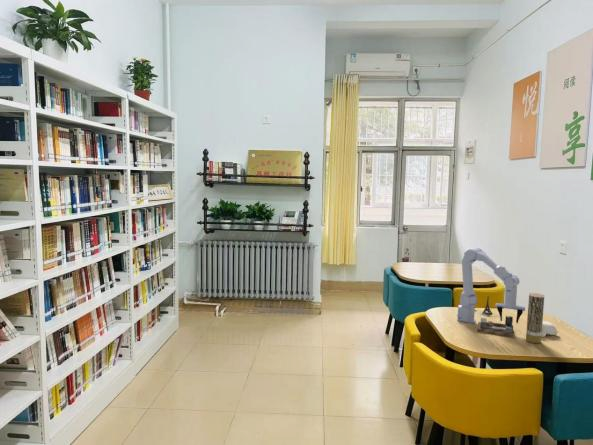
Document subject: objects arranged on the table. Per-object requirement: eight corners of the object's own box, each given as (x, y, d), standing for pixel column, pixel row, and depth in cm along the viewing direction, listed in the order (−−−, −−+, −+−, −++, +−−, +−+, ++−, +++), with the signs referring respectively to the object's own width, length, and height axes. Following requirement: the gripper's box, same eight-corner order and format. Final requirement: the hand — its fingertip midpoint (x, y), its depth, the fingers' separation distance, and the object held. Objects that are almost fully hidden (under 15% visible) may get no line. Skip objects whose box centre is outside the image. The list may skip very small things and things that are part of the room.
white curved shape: (544, 336, 226) (522, 327, 224) (550, 322, 225) (528, 313, 223) (555, 342, 217) (532, 332, 215) (562, 328, 217) (539, 318, 215)
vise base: (477, 331, 222) (477, 322, 222) (478, 324, 235) (478, 315, 234) (513, 337, 214) (514, 328, 214) (512, 329, 227) (513, 320, 226)
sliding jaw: (505, 331, 219) (505, 318, 218) (504, 326, 226) (505, 314, 225) (512, 332, 217) (513, 319, 216) (511, 327, 224) (512, 315, 224)
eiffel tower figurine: (472, 310, 263) (473, 290, 262) (487, 310, 264) (488, 290, 263) (484, 318, 248) (486, 297, 247) (500, 318, 249) (501, 297, 248)
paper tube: (540, 340, 211) (543, 294, 209) (541, 344, 205) (545, 297, 203) (525, 338, 214) (528, 292, 212) (526, 342, 208) (529, 295, 205)
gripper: (495, 297, 219) (494, 321, 221) (526, 301, 213) (524, 325, 214) (495, 294, 226) (494, 318, 227) (525, 298, 219) (523, 322, 220)
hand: (509, 321), depth 221 cm, fingers open, 7 cm apart
